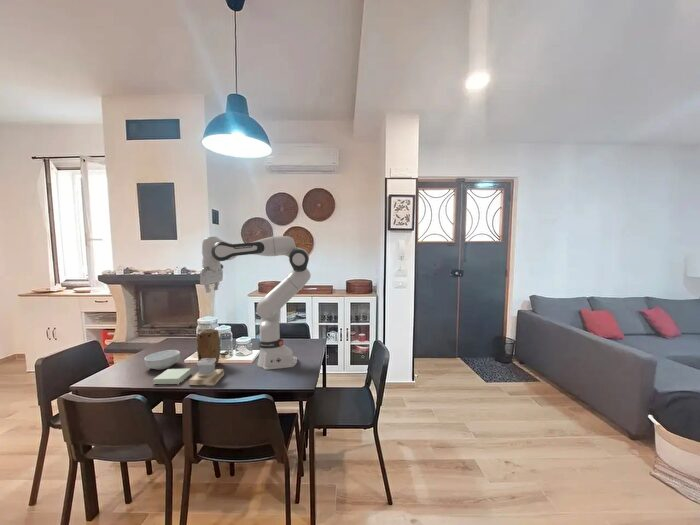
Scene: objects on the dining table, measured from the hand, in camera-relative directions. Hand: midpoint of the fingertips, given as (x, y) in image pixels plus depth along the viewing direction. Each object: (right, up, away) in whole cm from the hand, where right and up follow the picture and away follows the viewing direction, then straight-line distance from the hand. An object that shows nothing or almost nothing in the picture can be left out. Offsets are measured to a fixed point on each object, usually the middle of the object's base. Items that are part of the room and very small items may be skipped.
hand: (212, 291), depth 158 cm
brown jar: (-5, -43, +6) cm, 44 cm away
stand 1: (-14, -44, -12) cm, 48 cm away
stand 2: (+4, -44, -14) cm, 46 cm away
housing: (+4, -41, -14) cm, 43 cm away
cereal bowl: (-30, -44, +4) cm, 53 cm away
